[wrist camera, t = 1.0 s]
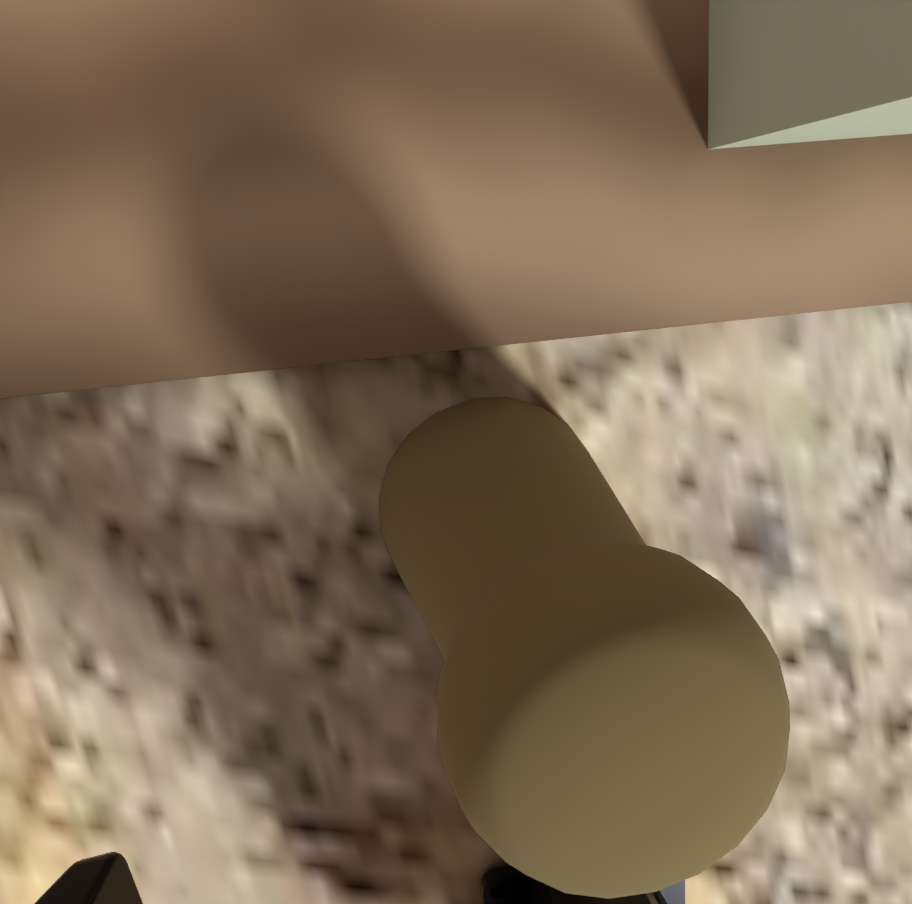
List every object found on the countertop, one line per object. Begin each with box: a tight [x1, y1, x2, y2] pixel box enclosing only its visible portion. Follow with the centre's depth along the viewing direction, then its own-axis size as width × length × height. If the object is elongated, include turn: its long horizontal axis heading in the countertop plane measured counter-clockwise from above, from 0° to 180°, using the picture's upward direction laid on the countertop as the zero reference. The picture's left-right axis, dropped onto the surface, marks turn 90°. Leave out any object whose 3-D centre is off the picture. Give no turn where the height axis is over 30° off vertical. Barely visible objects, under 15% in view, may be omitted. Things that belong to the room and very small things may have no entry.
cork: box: [379, 397, 790, 899], centre depth 15 cm, size 6×6×11 cm
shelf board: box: [0, 0, 912, 398], centre depth 16 cm, size 11×28×3 cm, turn 95°
